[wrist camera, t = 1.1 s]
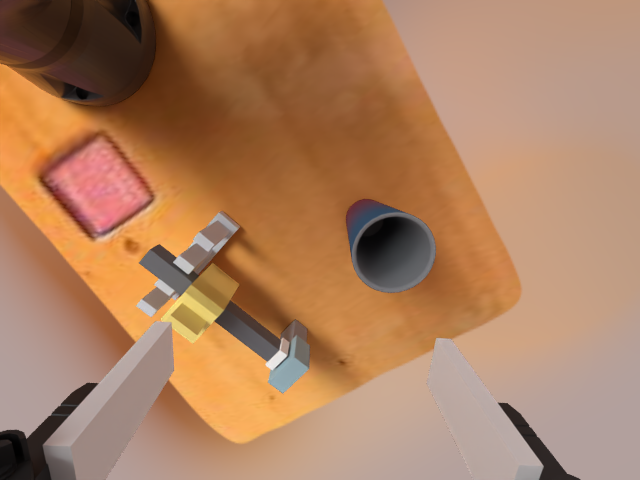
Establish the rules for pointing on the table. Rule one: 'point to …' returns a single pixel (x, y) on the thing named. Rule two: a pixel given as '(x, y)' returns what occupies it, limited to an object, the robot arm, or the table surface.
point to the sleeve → (201, 303)
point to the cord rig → (179, 273)
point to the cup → (389, 246)
